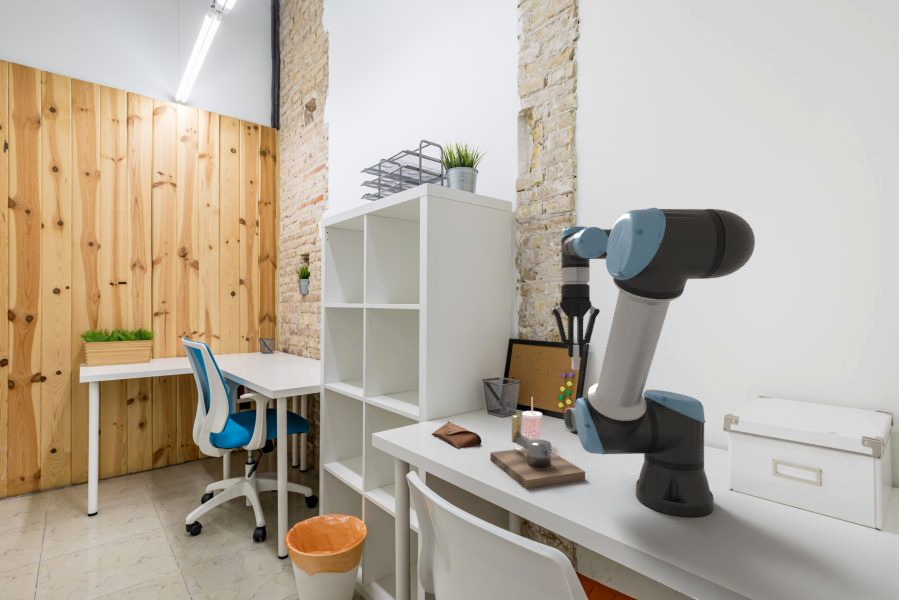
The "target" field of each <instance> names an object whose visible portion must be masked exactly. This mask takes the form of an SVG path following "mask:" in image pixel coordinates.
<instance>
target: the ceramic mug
mask: <svg viewBox="0 0 899 600" xmlns="http://www.w3.org/2000/svg"><path fill="white" fill-rule="evenodd" d="M563 423H564V426H565V428H566V430H567V431H568V432H570V433H573V432H578V431H577V426H576V420H575V407H567V408H566V409H565V412H564V415H563Z"/></svg>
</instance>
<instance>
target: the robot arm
mask: <svg viewBox="0 0 899 600" xmlns="http://www.w3.org/2000/svg"><path fill="white" fill-rule="evenodd" d="M560 238H561V239H560V248H561V249H560V251H561V252H560V254H561V255H560V257H561V258H560V259H561V277H560V278H561V279H560V280H561V281H560V282H561V283H563V284H561V285H560V286H561V287H560V289H561V295H560V296H561V300H560V302H559V305H558V306H556V307H555V308H551V313H552V314H553V316H554V317H555V321H556V326H557V329H558V333H559V337H560V341H561V343H563V344H565V345H567V356H568V357H569V358H571V369H572V370H574V371H579V370H580V358H583V356H584V348H583V347H584V346H585V345H586V344H590V342H591V338H592V335H593V331H594V326H595V323H596V318H597V316H598V315H599V314H600V312H601V310H600V309H599V308H596V306H595V307H594V306H593V305H592V302H591V300H590V299H591V297H590V294H591V293H590V291H591V290H590V284H588V283H589V282H590V268H591V267H590V266H591V265H590V260H605V266H606V269H607V272H608V273H609V275H610V276H611V277H612V281H613V284H614V286H616V288H617V289H618V295H617V300H616V305H615V309H614V311H613V318H612V321H611V325H610V329H609V334H608V335H609V336H608V339H607V343H606V347H605V352H604V356H603V361H602V366H601V370H600V374H599V378H598V381H597V382H595V383H594V384H592V385H591V386H590V387H589V389H588V393H587V396H586V397H583V396H582V397H579V398H577V399H576V400H575V403H574V408H575V420H576V426H577V431H576V432H577V434H578V438H579V441H580V445H581V446H582V449H584V450H585V451H586V452H588V453H589V454H594V455H595V454H599V455H602V456H603V455H632V454H633V455H635V454H637V455H640V454H641V455H644V456H643V458H644V459H643V462H642V463H643V464H642V466H641V469H640V473H639V477H638V479H637V481H636V483H635V497H636V498H637V500H638V501H639V502H640V503H642V505H644V506H646V507H648V508H650V509H653V510H655V511H658V512H660V513H662V514H663V513H664V514H666V515H667V514H668V515H673V516H678V517H688V518H689V517H690V518H694V517H695V518H696V517H703V516H708V515H710V514H711V513H713V511H714V508H715V501H714V500H715V499H714V494H713V493H712V491H711V490H710V485H709V481H708V477H707V475H706V471H705V423H706V420H705V419H706V418H705V411H704V410H705V409H704V405H703V404H702V402H701V401H700V400H698V399H696V398H694V397H692V396H689V395H686V394H682V393H677V392H671V391H666V390H660V389H645V386H646V384H647V383H646V382H647V380H648V376H649V373H650V370H651V367H652V364H653V360H654V355H655V354H656V349H657V345H658V343H659V340H660V336H661V334H662V333H661V332H662V330H663V326H664V323H665V320H666V316H667V313H668V309H669V306H670V302H671V301H674V300H676V299H678V298H680V297H681V296H682V295H683V293H684V291H685V287H686V283H687V281H688V280H701V279H702V280H707V279H716V278H718V279H719V278H721V277H725V276H729V275H732V274H733V273H735V272H737V271H739V270H740V269H741V268H743V267H744V266H745V265H746V264H747V263H748V261H750V259H751V258H752V255H753V253H754V250H755V244H756V242H755V241H756V238H755V234H754V230H753V228H752V227H751V225H750V223H748V222H747V221H746V220H745V219H744V218H743V217H742V216H740V215H739V214H736V213H734V212H732V211H729V210H724V209H718V208H706V209H705V208H704V209H703V208H702V209H701V208H688V209H687V208H658V207H650V208H645V209H633V210H628V211H626V212H624V213H623V215H621V216H619V218H618V219H617V220H616V222H615V223H614V225H613V226H612V229H611V228H609V229H608V228H607V229H604V228H603V229H602V228H600V227H597V226H590V227H587V226H581V225H579V226H575V225H574V226H568V227H564V228H563V229H562V231H561V237H560ZM562 312H563V313H564V314H565V316H566V317H567V318H566V319H567V335H566V331H565V328H564V323H563V320H562V317H561V315H562ZM588 312H589V317H588V322H587V326H586V329H585V332H584V317H585V316H586V314H587V313H588ZM575 318H576V343H577V344H574V342H575V339H574V336H575V333H574V329H575V328H574V327H575V324H574V322H575ZM584 333H585V334H584ZM644 390H645V391H644Z"/></svg>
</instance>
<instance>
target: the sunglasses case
mask: <svg viewBox="0 0 899 600" xmlns="http://www.w3.org/2000/svg"><path fill="white" fill-rule="evenodd" d="M431 434H432V435H434V436H433V437H435V436H437V437H439V438H440V439H439V438H438V439H439V440H441V439H442V440H441V441H443V440H444V441H443V442H445V441H446V442H445V443H447V442H448V443H447V444H449V445H451V446H453V447H455V449H457V450H462V449H466V448H471V447H477V446H481V445H482V438H481V436H480V435H479V434H478V433H476V432H474V431H471V430H468V429H466V428H465V427H462V426H460V425H458V424H455V423H453V422H451V421H449V420H448V421H447V422H446V423H445V424H444V425H442V426H440V428H438V429H436V430H435V431H434V432H432V433H431ZM432 435H431V436H432ZM437 437H436V438H437ZM461 448H462V449H461Z"/></svg>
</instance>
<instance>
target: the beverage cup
mask: <svg viewBox="0 0 899 600" xmlns="http://www.w3.org/2000/svg"><path fill="white" fill-rule="evenodd" d="M530 399H531V400H530V401H531V402H530V403H531V407H530V409H531V410H526V411H522V413H521V417H522V421H523V423H522V424H523V436H524V437H526V438H528V439H530V440H535V439H539V440H541V430H542V427H541V426H542V418H543V413H542V412H541V411H536V410H534V397H533V396H531V397H530Z"/></svg>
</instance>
